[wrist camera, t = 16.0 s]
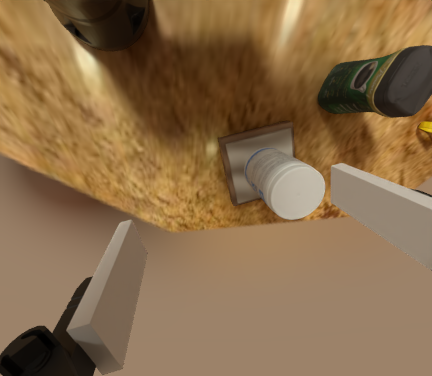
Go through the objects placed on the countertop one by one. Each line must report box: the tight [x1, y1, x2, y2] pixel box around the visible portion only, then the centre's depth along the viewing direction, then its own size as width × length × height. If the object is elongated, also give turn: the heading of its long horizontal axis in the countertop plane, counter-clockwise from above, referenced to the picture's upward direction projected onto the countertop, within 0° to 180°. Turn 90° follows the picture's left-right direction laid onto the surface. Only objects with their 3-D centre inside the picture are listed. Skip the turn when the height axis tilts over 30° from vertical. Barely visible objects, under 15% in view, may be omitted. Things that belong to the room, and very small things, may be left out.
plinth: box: [218, 121, 295, 206], centre depth 48 cm, size 16×16×4 cm
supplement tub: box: [244, 147, 325, 220], centre depth 40 cm, size 10×10×15 cm
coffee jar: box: [318, 45, 432, 118], centre depth 38 cm, size 10×8×19 cm
